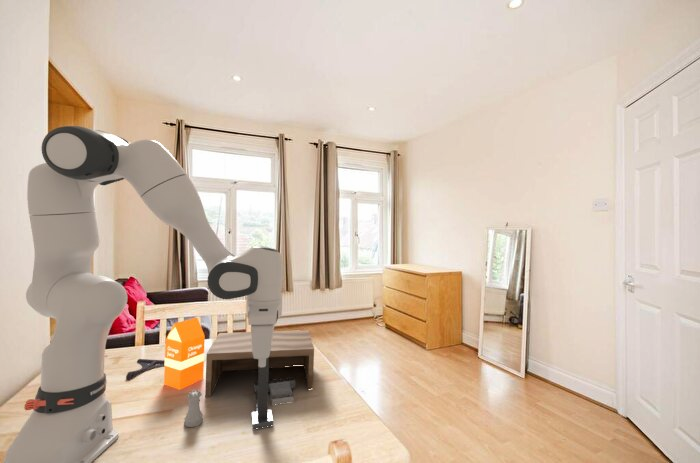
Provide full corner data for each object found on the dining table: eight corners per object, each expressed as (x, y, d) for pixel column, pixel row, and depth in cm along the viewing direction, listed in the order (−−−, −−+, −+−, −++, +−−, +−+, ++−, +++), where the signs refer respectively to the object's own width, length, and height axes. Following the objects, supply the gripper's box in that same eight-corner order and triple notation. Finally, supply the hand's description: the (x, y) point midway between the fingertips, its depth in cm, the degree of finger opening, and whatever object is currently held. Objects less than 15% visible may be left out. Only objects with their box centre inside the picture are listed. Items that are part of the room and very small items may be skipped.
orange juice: (163, 384, 103) (165, 321, 104) (187, 373, 111) (189, 315, 112) (180, 389, 100) (182, 325, 100) (203, 378, 108) (205, 318, 108)
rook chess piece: (184, 419, 84) (186, 389, 85) (203, 416, 86) (204, 386, 86) (182, 429, 80) (183, 397, 80) (202, 426, 82) (203, 394, 82)
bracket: (107, 380, 106) (107, 372, 106) (140, 362, 121) (140, 355, 121) (148, 383, 105) (148, 375, 105) (176, 365, 120) (176, 357, 120)
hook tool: (305, 420, 85) (307, 348, 84) (252, 430, 81) (254, 353, 80) (294, 384, 103) (295, 324, 102) (249, 390, 98) (250, 327, 97)
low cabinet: (312, 389, 103) (314, 348, 103) (205, 397, 96) (206, 353, 96) (307, 364, 122) (308, 330, 122) (218, 369, 115) (219, 333, 116)
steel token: (293, 403, 95) (293, 396, 95) (272, 406, 93) (272, 399, 93) (290, 393, 100) (290, 387, 100) (270, 396, 98) (270, 389, 98)
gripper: (254, 300, 93) (253, 349, 92) (247, 319, 73) (245, 381, 72) (277, 300, 94) (275, 348, 94) (276, 319, 74) (274, 379, 74)
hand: (262, 362), depth 83 cm, fingers closed on hook tool, 3 cm apart
